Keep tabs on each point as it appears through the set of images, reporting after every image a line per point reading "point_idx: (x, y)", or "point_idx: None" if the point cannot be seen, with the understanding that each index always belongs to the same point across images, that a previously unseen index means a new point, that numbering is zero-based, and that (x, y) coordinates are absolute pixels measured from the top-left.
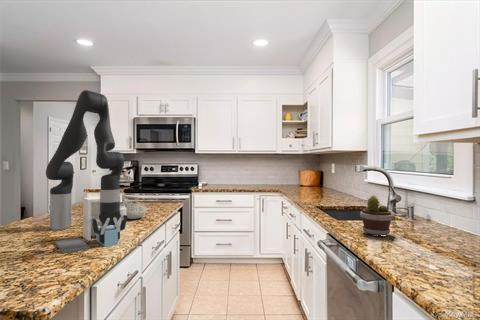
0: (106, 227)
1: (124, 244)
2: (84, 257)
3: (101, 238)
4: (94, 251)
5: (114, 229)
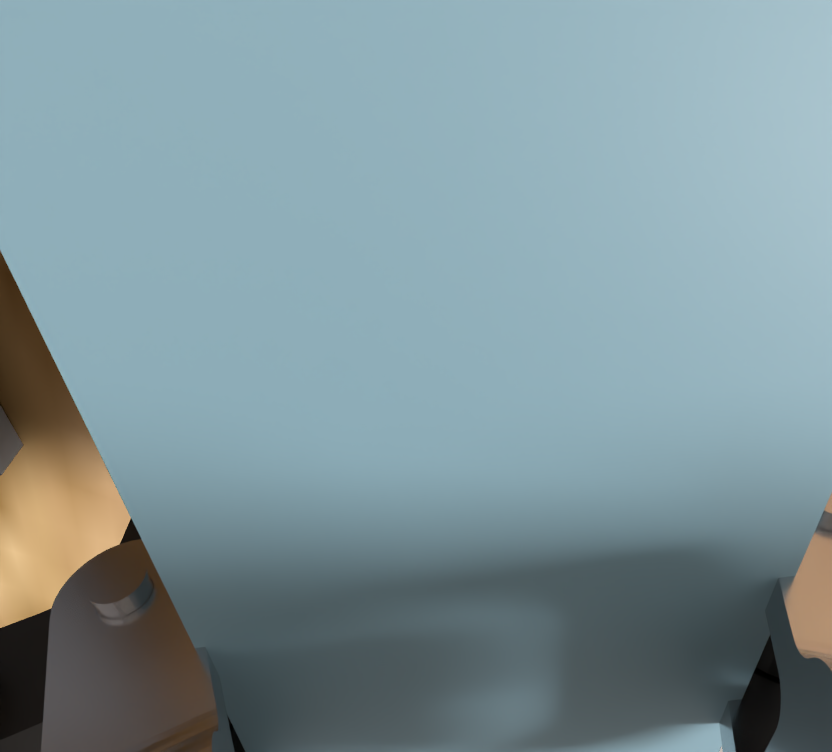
0: (527, 176)
1: None
2: None
3: None
4: None
5: (644, 720)
